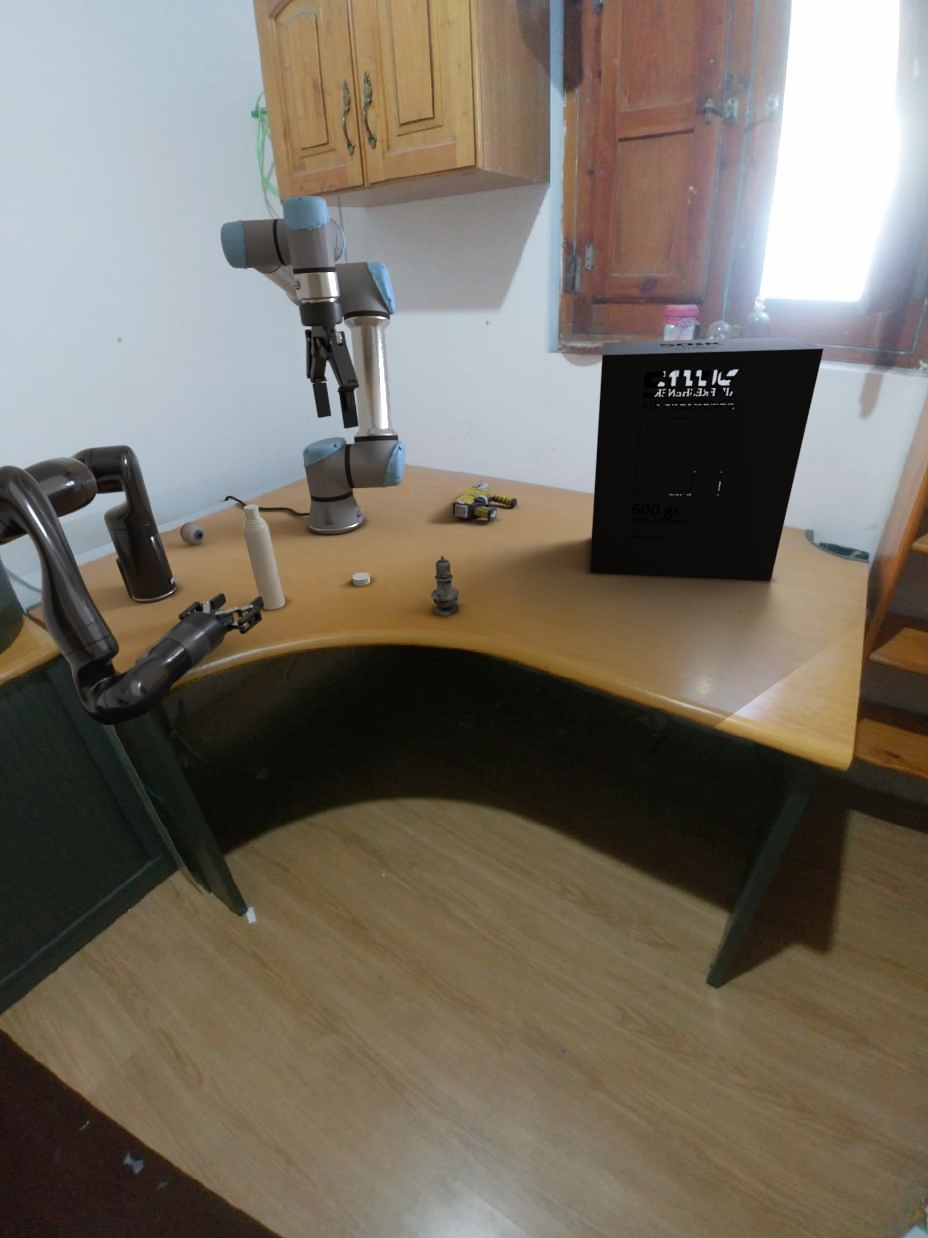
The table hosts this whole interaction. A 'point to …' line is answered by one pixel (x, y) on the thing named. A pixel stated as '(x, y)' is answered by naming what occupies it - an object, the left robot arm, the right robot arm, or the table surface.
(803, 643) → the table surface
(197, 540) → the eyeball
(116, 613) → the table surface
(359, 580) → the cap
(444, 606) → the grey chess piece
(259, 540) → the bottle
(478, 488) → the toy gun
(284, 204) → the right robot arm
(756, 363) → the cardboard box
